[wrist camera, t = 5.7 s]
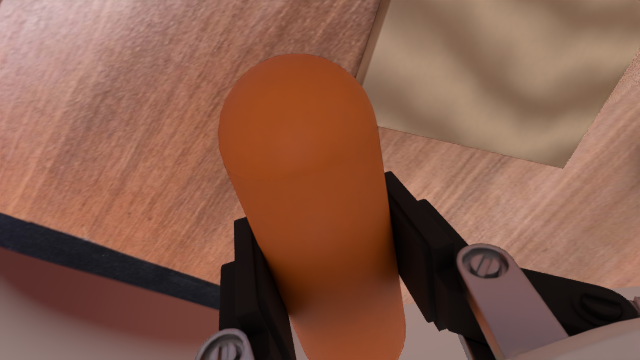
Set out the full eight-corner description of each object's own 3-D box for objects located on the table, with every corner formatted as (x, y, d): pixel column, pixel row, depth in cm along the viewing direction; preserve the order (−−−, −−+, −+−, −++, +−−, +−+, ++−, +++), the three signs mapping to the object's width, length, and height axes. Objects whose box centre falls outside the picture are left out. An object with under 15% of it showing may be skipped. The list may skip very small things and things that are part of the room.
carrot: (223, 53, 10) (157, 106, 7) (363, 22, 9) (368, 63, 6) (324, 336, 17) (317, 429, 14) (407, 332, 16) (420, 429, 13)
